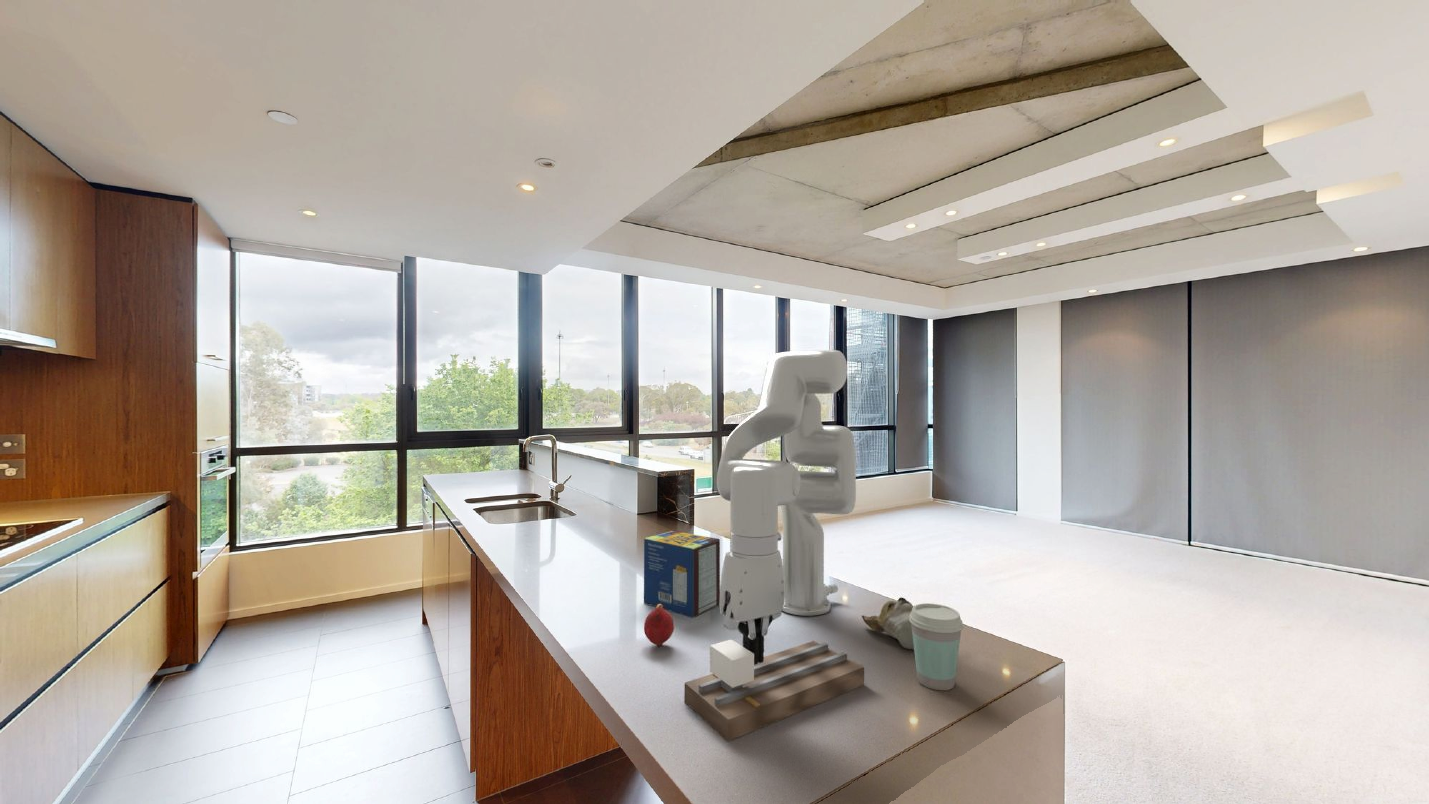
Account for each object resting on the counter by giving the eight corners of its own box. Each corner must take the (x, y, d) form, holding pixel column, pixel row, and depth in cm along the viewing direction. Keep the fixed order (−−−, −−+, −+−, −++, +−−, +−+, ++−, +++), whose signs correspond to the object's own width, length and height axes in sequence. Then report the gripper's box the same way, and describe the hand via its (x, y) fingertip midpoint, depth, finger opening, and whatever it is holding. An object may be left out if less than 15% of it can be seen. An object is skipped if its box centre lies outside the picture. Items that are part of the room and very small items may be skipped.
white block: (730, 676, 86) (731, 639, 87) (753, 693, 81) (754, 653, 82) (710, 683, 84) (710, 645, 84) (732, 701, 79) (732, 660, 79)
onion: (668, 653, 102) (669, 611, 102) (639, 651, 103) (640, 608, 103) (677, 640, 107) (677, 600, 107) (649, 638, 109) (649, 598, 109)
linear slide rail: (813, 656, 101) (813, 635, 101) (864, 684, 91) (864, 660, 91) (684, 701, 85) (684, 676, 85) (728, 741, 75) (728, 712, 75)
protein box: (670, 591, 136) (671, 529, 136) (720, 604, 127) (721, 538, 127) (642, 603, 128) (642, 537, 128) (693, 618, 119) (693, 548, 119)
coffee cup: (960, 674, 94) (960, 605, 95) (965, 699, 86) (966, 624, 86) (908, 666, 97) (908, 599, 97) (909, 689, 89) (909, 616, 89)
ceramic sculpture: (897, 610, 101) (858, 588, 115) (898, 657, 100) (859, 630, 115) (947, 606, 103) (902, 585, 118) (948, 652, 103) (903, 626, 117)
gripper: (774, 533, 93) (774, 640, 92) (701, 545, 84) (700, 663, 84) (805, 542, 86) (804, 657, 86) (729, 556, 78) (728, 683, 78)
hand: (753, 659), depth 85 cm, fingers closed
